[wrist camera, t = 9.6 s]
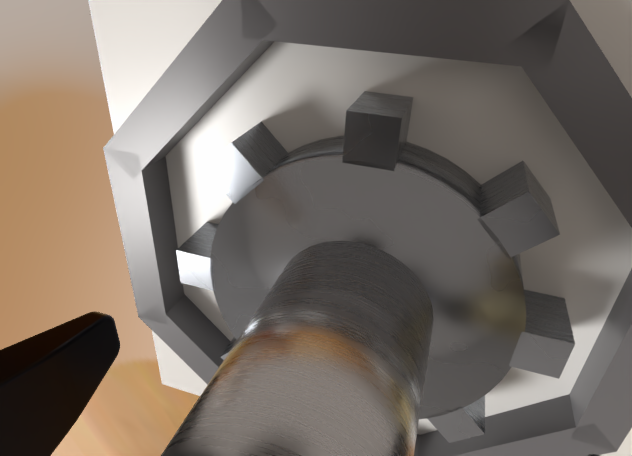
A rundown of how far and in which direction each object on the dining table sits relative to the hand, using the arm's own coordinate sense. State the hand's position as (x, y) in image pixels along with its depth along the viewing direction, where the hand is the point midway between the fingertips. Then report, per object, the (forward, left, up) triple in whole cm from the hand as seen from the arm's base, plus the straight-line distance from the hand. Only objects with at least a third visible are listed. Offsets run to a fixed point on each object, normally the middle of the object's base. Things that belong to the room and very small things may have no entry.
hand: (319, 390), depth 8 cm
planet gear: (0, 0, -4) cm, 4 cm away
